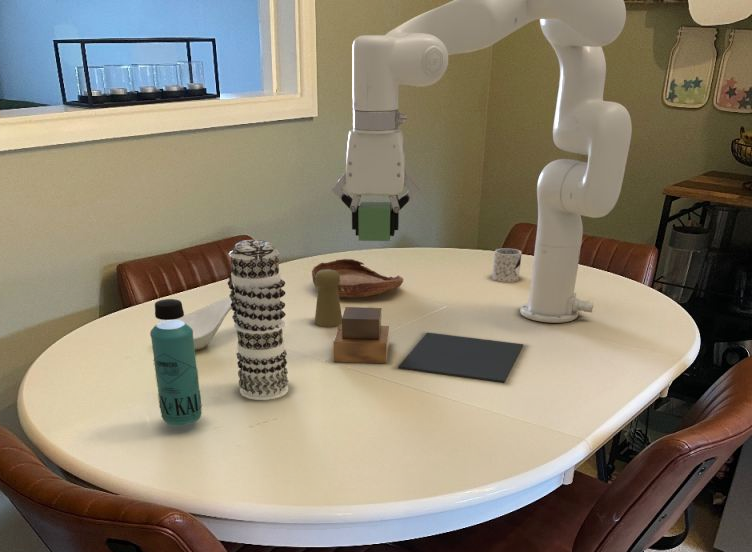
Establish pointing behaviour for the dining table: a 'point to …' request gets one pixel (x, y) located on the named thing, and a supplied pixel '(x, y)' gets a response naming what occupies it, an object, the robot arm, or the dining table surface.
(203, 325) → the spoon rest
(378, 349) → the oak block
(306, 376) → the dining table surface
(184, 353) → the beverage bottle
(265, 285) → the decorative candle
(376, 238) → the green block
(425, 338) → the mat
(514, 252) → the mug
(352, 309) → the walnut block
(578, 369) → the dining table surface
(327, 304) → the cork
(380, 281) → the wooden bowl
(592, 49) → the robot arm
